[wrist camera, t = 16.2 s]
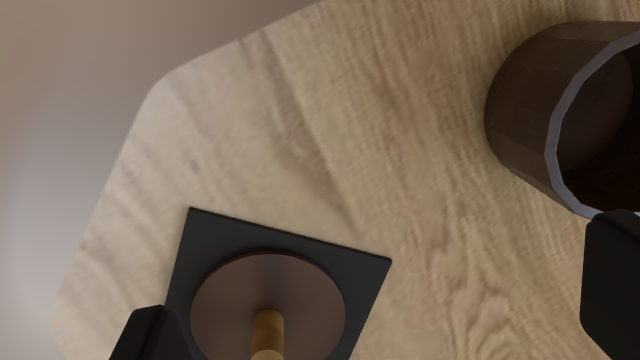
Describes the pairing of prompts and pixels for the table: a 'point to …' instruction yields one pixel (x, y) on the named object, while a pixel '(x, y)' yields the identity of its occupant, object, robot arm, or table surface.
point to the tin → (572, 115)
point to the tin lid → (267, 309)
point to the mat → (244, 237)
